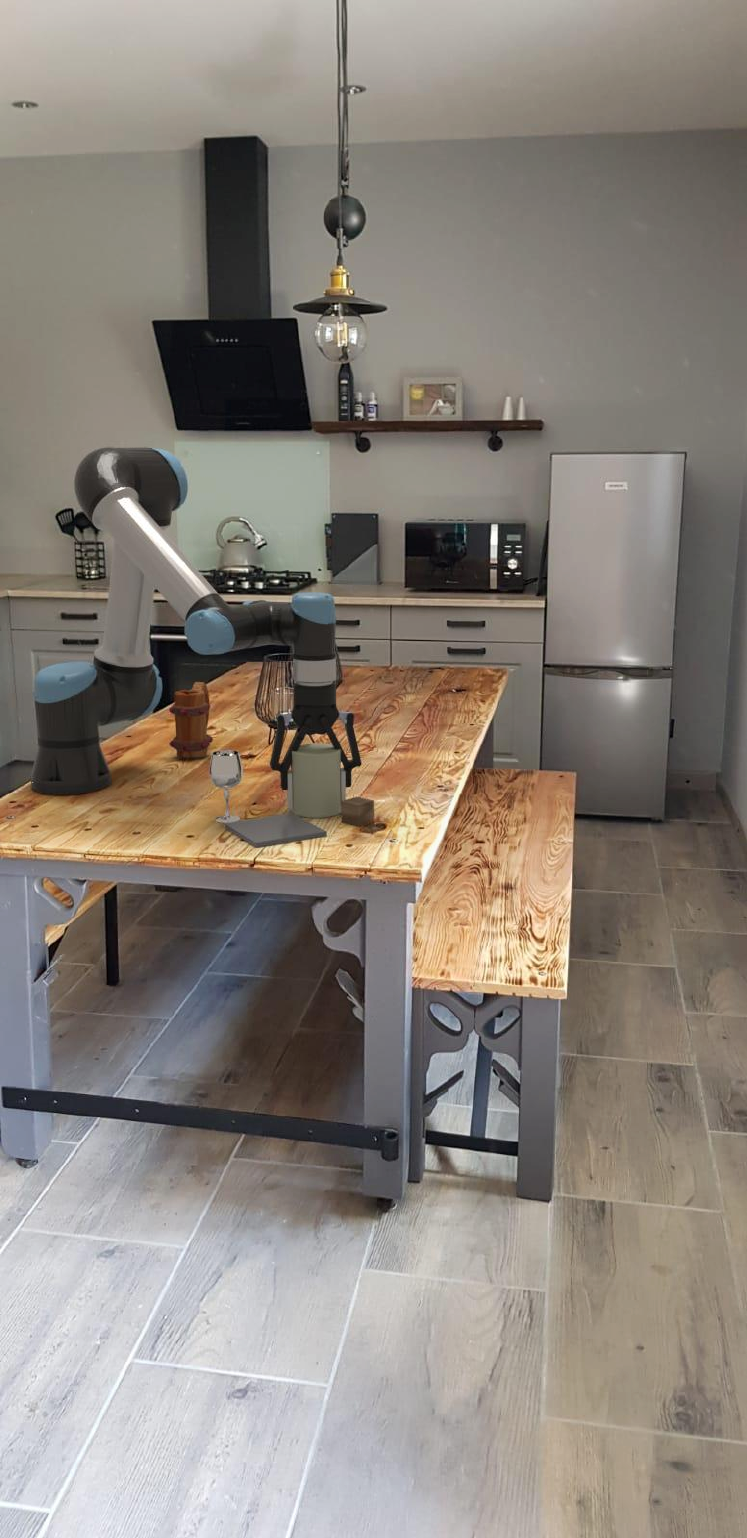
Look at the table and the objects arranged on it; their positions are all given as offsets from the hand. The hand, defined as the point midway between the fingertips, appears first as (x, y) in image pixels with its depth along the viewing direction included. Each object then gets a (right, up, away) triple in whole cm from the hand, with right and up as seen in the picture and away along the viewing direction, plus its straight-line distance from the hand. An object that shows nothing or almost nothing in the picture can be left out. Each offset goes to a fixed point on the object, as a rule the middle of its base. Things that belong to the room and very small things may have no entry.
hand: (316, 805), depth 220 cm
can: (0, -1, 0) cm, 1 cm away
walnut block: (+8, -3, -7) cm, 10 cm away
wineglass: (-15, -2, -5) cm, 16 cm away
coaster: (-7, -4, -12) cm, 14 cm away
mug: (-28, +10, +44) cm, 53 cm away
